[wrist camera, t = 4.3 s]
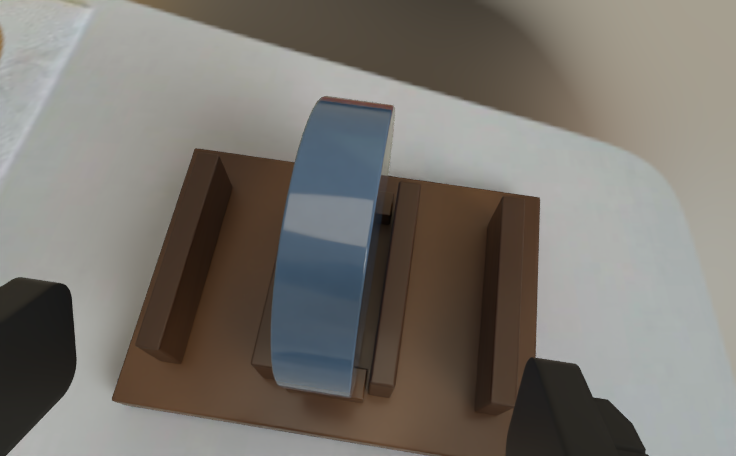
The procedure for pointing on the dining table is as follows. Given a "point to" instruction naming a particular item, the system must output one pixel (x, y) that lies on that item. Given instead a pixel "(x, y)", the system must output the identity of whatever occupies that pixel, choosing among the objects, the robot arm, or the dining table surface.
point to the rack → (384, 321)
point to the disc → (330, 246)
